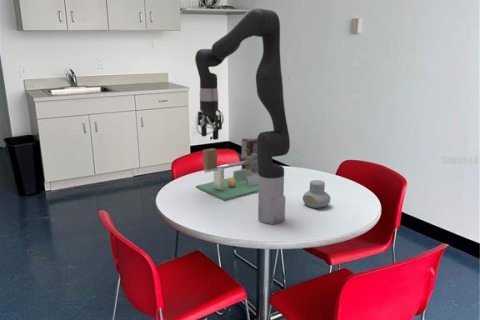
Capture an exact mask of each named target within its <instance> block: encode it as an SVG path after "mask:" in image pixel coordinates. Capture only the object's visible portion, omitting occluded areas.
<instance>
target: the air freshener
mask: <svg viewBox="0 0 480 320" xmlns="http://www.w3.org/2000/svg"><path fill="white" fill-rule="evenodd" d="M325 186H326V184H325V182H324V180H320V179H314V180H310V181H309V190H308V191H306V192H305V193H304V194H303V196H302V201H303V203H304V204H305V205H306V206H308V207H310V208H312V209H319V208H320V209H321V208H325V207H327V206H328V205H329V204H330V203H331V197H330V195H329V193H328V192H327V191H325V188H326V187H325Z"/></svg>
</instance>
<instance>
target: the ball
mask: <svg viewBox="0 0 480 320" xmlns="http://www.w3.org/2000/svg"><path fill="white" fill-rule="evenodd" d="M229 178H230V179H228V181H227V184H228V185H229V186H230V187H233V186H235V185H236V180H235V179H234V178H232V177H229Z"/></svg>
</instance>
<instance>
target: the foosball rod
mask: <svg viewBox="0 0 480 320" xmlns="http://www.w3.org/2000/svg"><path fill="white" fill-rule="evenodd" d="M253 162H257V158H255V159H250V160H246V161H242V160H241V161H236V162H231V163H226V164H221V165H219V166H218V150H217V149H216V148H213V147H211V148H207V149H205V148H204V149H203V150H202V164H203V165H202V168H203V169H204V173H210V172H213V182H214V188H216V189H218V190H220V191H221V190H224V179H225V169H229V168H234V167H239V166H242V165H244V164H248V163H253Z"/></svg>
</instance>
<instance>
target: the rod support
mask: <svg viewBox="0 0 480 320" xmlns="http://www.w3.org/2000/svg"><path fill="white" fill-rule="evenodd" d="M255 158H257V153H251V159H255ZM251 171H252V172H254V173H257V174H259V170H258V165H257V162H253V163H251Z"/></svg>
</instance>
